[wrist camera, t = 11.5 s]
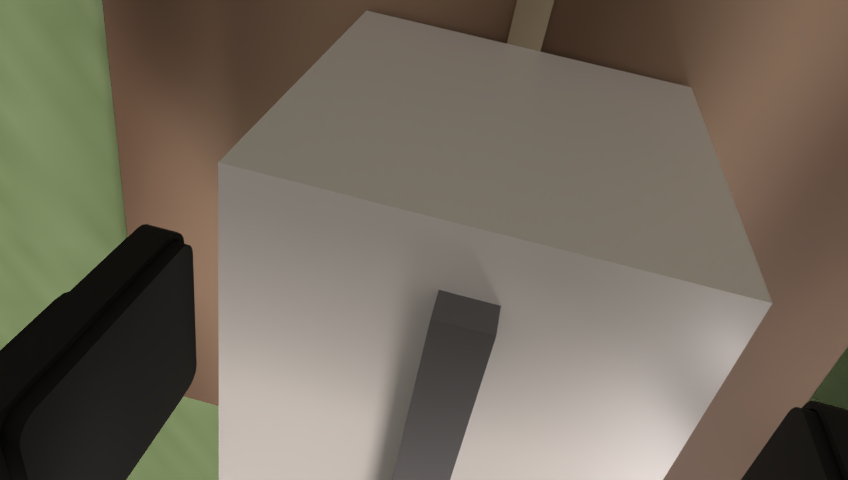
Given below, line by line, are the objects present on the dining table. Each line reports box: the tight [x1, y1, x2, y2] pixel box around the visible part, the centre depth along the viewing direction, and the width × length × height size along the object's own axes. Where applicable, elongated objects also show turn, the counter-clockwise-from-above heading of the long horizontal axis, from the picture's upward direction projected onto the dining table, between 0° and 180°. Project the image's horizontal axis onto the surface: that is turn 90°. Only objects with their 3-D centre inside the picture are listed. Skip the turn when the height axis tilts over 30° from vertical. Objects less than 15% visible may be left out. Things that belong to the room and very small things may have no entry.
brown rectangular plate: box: [102, 0, 848, 480], centre depth 13 cm, size 16×16×5 cm
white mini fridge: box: [218, 11, 772, 480], centre depth 11 cm, size 6×7×6 cm
